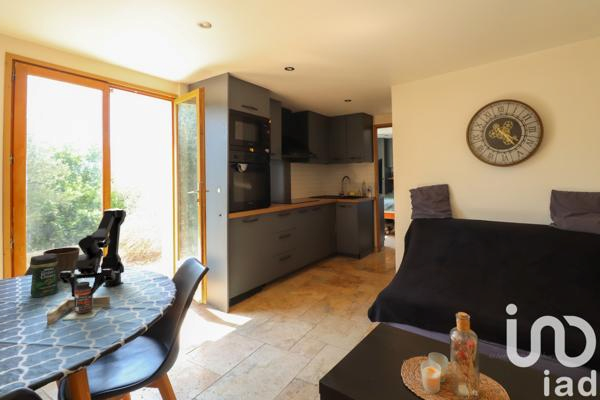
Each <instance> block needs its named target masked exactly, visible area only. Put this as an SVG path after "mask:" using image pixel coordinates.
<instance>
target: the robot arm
mask: <svg viewBox="0 0 600 400" xmlns="http://www.w3.org/2000/svg"><path fill="white" fill-rule="evenodd" d="M126 217H127V211H126V210H124V209H123V208H109V209H105V210H104V211H103V214H102V217H101V220H100V222H99V225H98V227H97V229H96V230H94V231H93V232H92V233H91V234H86V237H83V238H81V239H80V240H79V241H78V243H77V245H78V248H80V251H82V253H83V254H84V255H85V257H84V259H78V260H77V262H76V269H77V272H78V273H75V272H74V273H73V272H72V271H62V272H61V273H60V274H59V276H58V278H59V279H60V280H61V281H62V282H61V283H62V284H69V285H70V289H71V290H70V291H71V297H73V298H74V291H75V290H76V289H77V284H78V283H80V282H79V281H78V280H79V279H80V280H81V279H94V281H93V283H92V286H91V287H92V289H91V293H90V295H91V296H92V295H94V294H95V293H96V292H97V290H98V289H100V287H101V286H103V287H110V288H115V287H117V286H119V285H122V284H124V281H122V274H123V273H125V266H124V264H123V262H122V257H121V256H120V255H119V246H120V236H121V226H122V225H123V224H124V222H125V220H126ZM106 248H107V250H106V251H107V252H106V254H105V255H104V250H103V249H106ZM76 269H75V270H76ZM99 269H100V272H98V271H99Z"/></svg>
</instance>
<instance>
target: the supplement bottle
mask: <svg viewBox="0 0 600 400" xmlns="http://www.w3.org/2000/svg"><path fill="white" fill-rule="evenodd" d="M92 287H93V286H90V281H81V282H79V283H78V284H77V289H76V290H75V291H74V297H73V298H74V306H75V307H74V308H75V312H76V313H85V312H88V311H90V310H92V309H93V297H94V296H93V295H94V294H93V295H92V296H91V295H90V293H91V289H92Z"/></svg>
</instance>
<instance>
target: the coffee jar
mask: <svg viewBox="0 0 600 400" xmlns="http://www.w3.org/2000/svg"><path fill="white" fill-rule="evenodd" d="M57 263H58V261H57V256H56V255H55V254H46V255H44V254H41V255H35V256H33V255H32V256H31V257H30V262H29V266H30V267H29V268H30V269H31V277H32V278H31V285H30V296H31V297H32V298H40V297H41V298H42V297H46V296H50V295H53V294H56V293H58V292H59V282H57V275H56V265H57Z"/></svg>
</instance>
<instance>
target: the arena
mask: <svg viewBox="0 0 600 400" xmlns="http://www.w3.org/2000/svg"><path fill="white" fill-rule="evenodd" d="M110 305H111V295H102V296H101V295H100V296H98V295H97V296H93V309H92V310H90V311H88V312H85V313H76V312H75V308H74V307H75V306H74V297H73V298H65V299H64V300H62V302H60V303H59V304H58V305H56V306H55V307H53V308H52V309H51V310H50V311H49V312H47V313H46V325H52V324H54V323H55V322H56V321H58V319H60V318H61V317H62V316H63V315H65V313H67V312H68V311H70V310H72V311H71V312H70V313H69V314H68V315H66V316H65V317H64V318H63V319H62V321H63V322H64V321H75V320H85V319H93V318H95V316H96V315H97V314H98V313H99V312H100V311H101V310H102V309H103V307H104V308H105V307H110Z"/></svg>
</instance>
